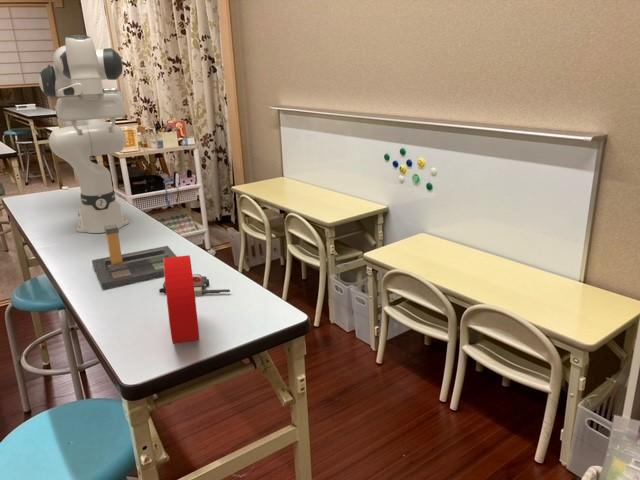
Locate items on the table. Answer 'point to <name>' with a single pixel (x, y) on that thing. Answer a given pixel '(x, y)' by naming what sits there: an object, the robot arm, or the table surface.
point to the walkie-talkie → (199, 286)
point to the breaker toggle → (113, 243)
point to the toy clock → (181, 299)
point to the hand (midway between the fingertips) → (95, 134)
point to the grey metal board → (132, 267)
